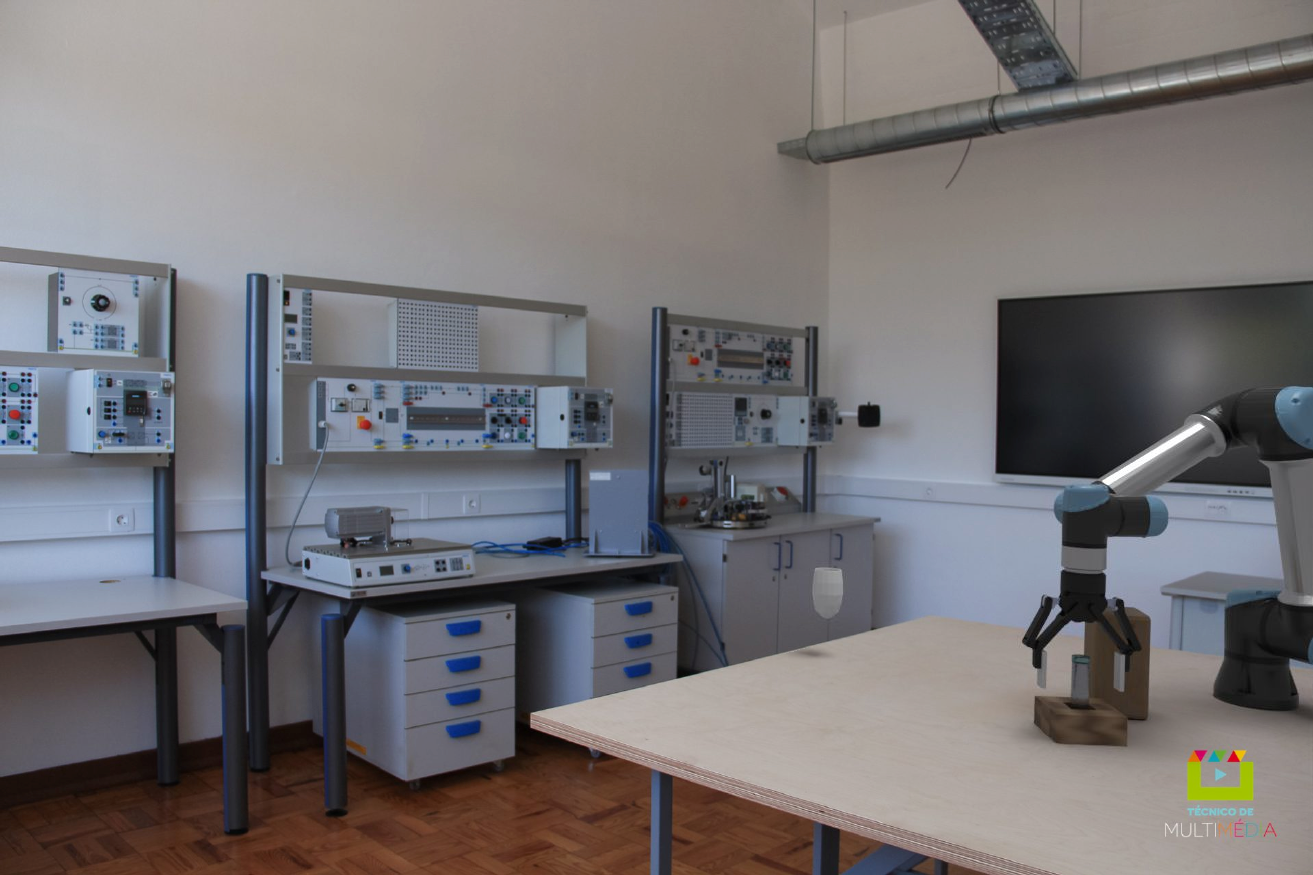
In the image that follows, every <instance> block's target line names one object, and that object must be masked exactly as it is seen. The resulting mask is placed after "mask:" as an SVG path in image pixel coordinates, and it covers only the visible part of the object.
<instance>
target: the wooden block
mask: <svg viewBox="0 0 1313 875" xmlns="http://www.w3.org/2000/svg"><path fill="white" fill-rule="evenodd" d="M1124 607H1125V613H1126V615H1127V617H1128V619H1129V621H1130V623H1131V626H1132V628H1133V630H1134V632H1135V634H1136V636H1137V638H1138V640H1139V642H1140V645H1141V647H1142V650H1141V651H1136V652H1133V654H1132V655H1131V656H1130V670H1129V672H1125V675H1124V692H1120V691H1118V690H1117V689H1115V688H1114V656H1115V652H1120V650H1119V649H1118V648H1117V646H1116V645H1115V644H1114V643H1113V641H1112V640H1111V639H1110V638H1109V637H1108V635H1107V634H1106V633H1105V632H1104V630H1103V629H1102V628H1101V627H1100V626H1099V624H1098V623H1097V622H1096V621H1095V622H1093V623H1087V622H1084V635H1083V636H1084V639H1083V640H1084V641H1083V655H1087V656H1090V681H1089V698H1101V699H1102V700H1104V701H1105V702H1107V703H1108V704H1109V705H1111V706H1112V707H1114V708H1115V709H1117V710H1118V711H1120V712H1121V713H1122V714H1124V715H1125V716H1127V717H1128V720H1129V719H1131V720H1132V719H1133V720H1145V719H1147V718H1148V716H1149V699H1150V694H1149V692H1150V665H1151V664H1150V660H1151V658H1150V657H1151V628H1152V627H1151V626H1152V624H1151V623H1152V620H1151V618H1150V616H1149V615H1148V614H1146V613H1145V612H1143V611H1142V610H1140V609H1138V608H1136V607H1133V606H1131V607H1130V606H1124ZM1102 614H1103V615H1104V616H1105V618H1106V619H1107V620H1108V621H1109V623H1110V624H1111V626H1112V627H1113V628H1114V629H1115V631H1116V632H1117V633H1118V634H1119V636H1120V637H1121V638H1122V639H1123V640H1124V642H1125V643H1126V644H1128V642H1127V640H1126V638H1125V636H1124V634H1123V632H1122V629H1121V627H1120V625H1119V623H1118V621H1117V619H1116V617H1115V615H1114V612H1113V610H1111V609H1110V608H1109V606H1107V608H1106V609H1105V610H1104V611H1103V613H1102Z"/></svg>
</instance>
